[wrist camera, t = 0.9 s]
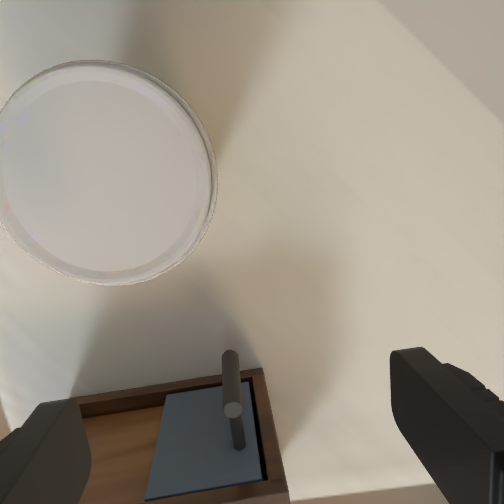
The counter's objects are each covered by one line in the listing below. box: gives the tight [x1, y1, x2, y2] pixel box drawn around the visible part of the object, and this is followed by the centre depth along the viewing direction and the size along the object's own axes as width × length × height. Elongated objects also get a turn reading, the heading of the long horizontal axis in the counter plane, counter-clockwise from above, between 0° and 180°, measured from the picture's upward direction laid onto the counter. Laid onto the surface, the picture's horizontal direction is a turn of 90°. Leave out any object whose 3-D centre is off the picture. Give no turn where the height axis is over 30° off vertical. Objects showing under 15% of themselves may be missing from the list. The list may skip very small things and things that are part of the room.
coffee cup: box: [0, 60, 218, 286], centre depth 21 cm, size 9×9×12 cm
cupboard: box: [74, 368, 290, 504], centre depth 26 cm, size 10×16×12 cm, turn 97°
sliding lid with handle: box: [144, 350, 262, 502], centre depth 25 cm, size 5×7×9 cm
